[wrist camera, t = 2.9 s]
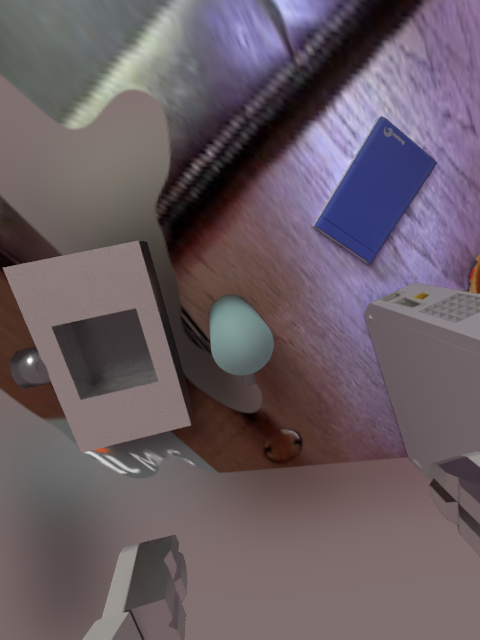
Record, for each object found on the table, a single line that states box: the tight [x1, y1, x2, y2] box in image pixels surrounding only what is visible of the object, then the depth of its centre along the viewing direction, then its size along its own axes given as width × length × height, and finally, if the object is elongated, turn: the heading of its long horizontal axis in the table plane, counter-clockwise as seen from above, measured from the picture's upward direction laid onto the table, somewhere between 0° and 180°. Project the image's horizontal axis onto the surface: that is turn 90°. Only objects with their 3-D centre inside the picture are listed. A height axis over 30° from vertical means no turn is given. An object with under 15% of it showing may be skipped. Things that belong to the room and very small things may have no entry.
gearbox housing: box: [3, 241, 193, 453], centre depth 30 cm, size 15×20×4 cm
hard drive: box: [313, 116, 437, 264], centre depth 31 cm, size 2×8×12 cm
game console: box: [364, 283, 480, 481], centre depth 28 cm, size 6×27×20 cm, turn 24°
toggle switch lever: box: [209, 295, 274, 385], centre depth 28 cm, size 5×7×10 cm
